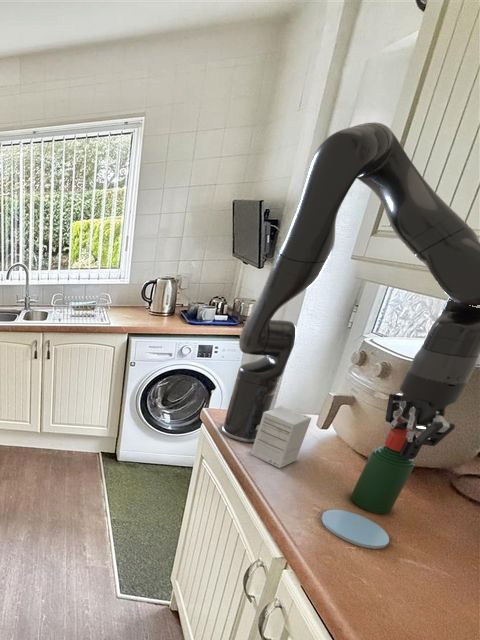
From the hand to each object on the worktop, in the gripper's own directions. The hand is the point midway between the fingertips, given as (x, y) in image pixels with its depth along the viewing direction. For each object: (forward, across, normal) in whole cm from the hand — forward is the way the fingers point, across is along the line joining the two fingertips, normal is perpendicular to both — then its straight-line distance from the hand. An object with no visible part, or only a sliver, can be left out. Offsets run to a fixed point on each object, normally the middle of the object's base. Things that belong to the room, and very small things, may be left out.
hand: (398, 451), depth 81 cm
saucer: (+14, +9, -8) cm, 19 cm away
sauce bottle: (+14, 0, 0) cm, 14 cm away
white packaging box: (+14, -16, -13) cm, 25 cm away
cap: (-1, 0, 0) cm, 1 cm away
